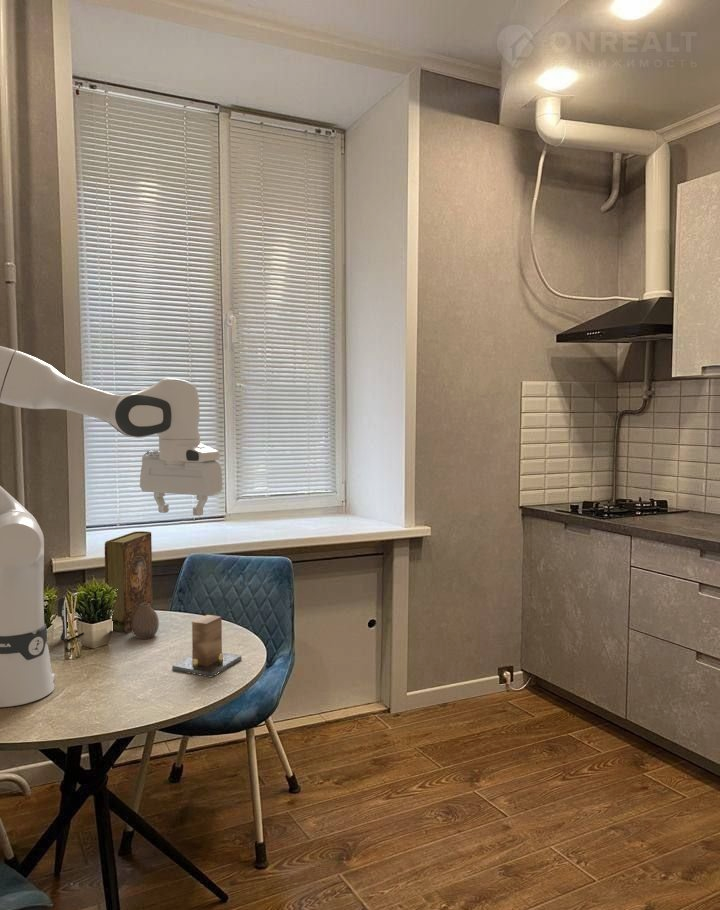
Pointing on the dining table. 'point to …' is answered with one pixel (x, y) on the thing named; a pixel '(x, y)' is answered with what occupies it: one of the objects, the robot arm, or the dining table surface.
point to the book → (129, 575)
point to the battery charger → (63, 614)
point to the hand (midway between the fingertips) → (180, 513)
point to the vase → (145, 622)
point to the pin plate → (210, 670)
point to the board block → (207, 639)
